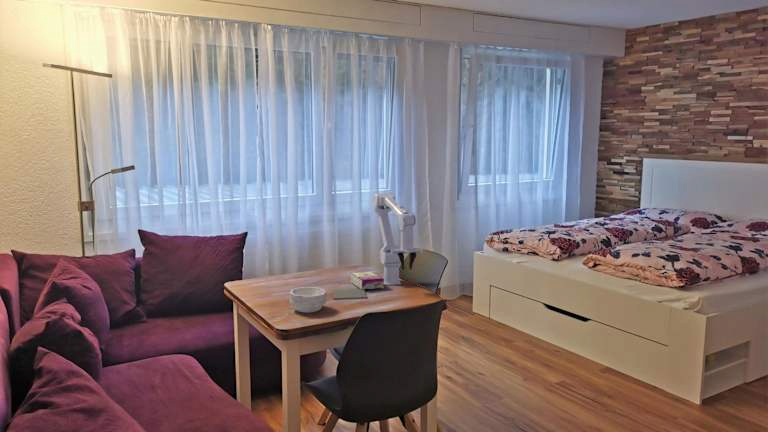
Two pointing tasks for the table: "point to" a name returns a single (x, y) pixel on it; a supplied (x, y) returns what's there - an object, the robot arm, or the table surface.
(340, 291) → the mat
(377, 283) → the candy bar box
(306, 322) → the table surface
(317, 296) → the paper bowls
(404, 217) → the robot arm
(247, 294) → the table surface
